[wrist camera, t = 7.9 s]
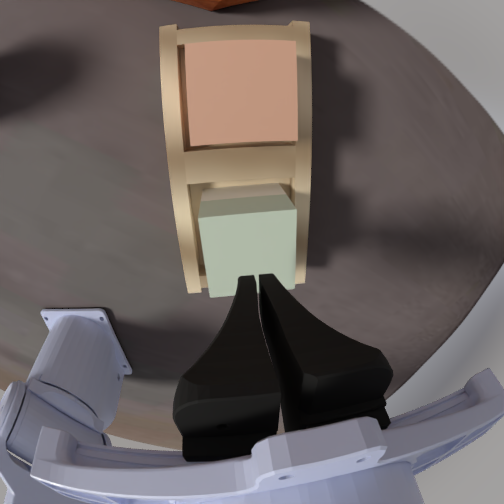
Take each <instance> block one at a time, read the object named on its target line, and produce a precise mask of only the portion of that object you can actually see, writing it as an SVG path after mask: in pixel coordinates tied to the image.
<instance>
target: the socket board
mask: <svg viewBox="0 0 504 504" xmlns="http://www.w3.org/2000/svg"><path fill="white" fill-rule="evenodd" d="M159 40H160V70H161V89H162V104H163V117H164V129H165V139H166V149H167V159H168V168H169V176H170V184H171V192H172V199H173V206H174V213H175V220H176V227H177V233H178V239H179V245H180V251H181V257H182V263H183V269H184V274H185V279H186V285H187V290H188V293H199V292H202V288H206V287H208V282H207V275H206V269H205V263H204V256H203V250H202V243H201V236H200V229H199V222H198V215H199V208H200V202H201V196H202V190H203V189H208V188H218V187H228V186H240V185H252V184H265V183H279V185H280V186H281V187H282V189H283V190H284V192H285V193H286V195H287V196H288V197H289V199H290V200H291V202H292V203H293V205H294V206H295V208H296V209H297V228H296V267H295V284H299V283H305V273H306V260H307V245H308V229H309V210H310V188H311V154H312V76H311V44H310V24H309V22H303V21H292V22H291V23H290V24H289V25H288V26H280V25H225V26H209V27H198V28H188V29H179V28H178V26H177V24H174V25H167V26H161V27H159ZM224 40H288V41H296V56H297V97H298V141H260V142H239V143H223V144H210V145H199V146H190V133H189V120H188V105H187V88H186V68H185V44H188V43H197V42H209V41H224Z"/></svg>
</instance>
